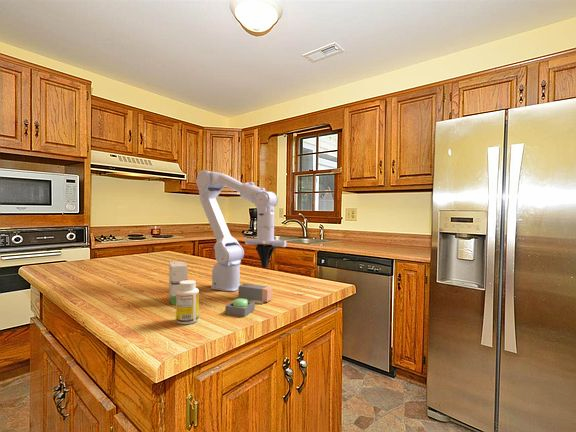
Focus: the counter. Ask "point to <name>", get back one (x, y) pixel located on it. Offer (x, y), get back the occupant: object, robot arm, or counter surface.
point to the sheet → (255, 301)
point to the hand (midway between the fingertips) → (265, 266)
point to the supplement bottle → (187, 302)
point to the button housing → (240, 309)
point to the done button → (240, 302)
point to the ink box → (176, 278)
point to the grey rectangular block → (255, 292)
